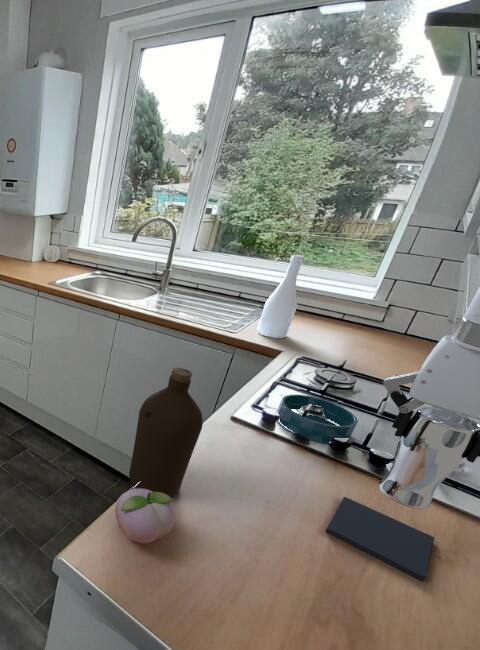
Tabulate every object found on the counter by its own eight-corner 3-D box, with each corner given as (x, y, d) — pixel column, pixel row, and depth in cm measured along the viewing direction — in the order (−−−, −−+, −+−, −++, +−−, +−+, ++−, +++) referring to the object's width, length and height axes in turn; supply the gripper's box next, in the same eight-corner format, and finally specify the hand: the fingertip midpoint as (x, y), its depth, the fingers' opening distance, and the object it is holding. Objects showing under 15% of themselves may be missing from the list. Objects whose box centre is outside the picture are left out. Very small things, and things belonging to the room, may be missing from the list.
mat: (431, 541, 69) (434, 537, 69) (422, 581, 63) (425, 577, 62) (342, 500, 78) (344, 496, 78) (325, 531, 71) (327, 527, 71)
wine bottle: (250, 330, 160) (275, 253, 147) (269, 328, 162) (295, 252, 149) (272, 339, 151) (301, 258, 139) (292, 337, 154) (321, 257, 141)
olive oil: (170, 510, 75) (204, 392, 65) (116, 481, 82) (139, 370, 71) (190, 482, 82) (224, 371, 71) (139, 457, 89) (163, 353, 78)
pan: (355, 430, 99) (363, 412, 97) (340, 453, 91) (349, 435, 89) (285, 405, 109) (292, 388, 107) (266, 424, 101) (273, 406, 99)
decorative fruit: (140, 511, 75) (150, 468, 71) (176, 546, 68) (190, 501, 64) (98, 526, 71) (107, 482, 67) (132, 565, 65) (144, 518, 60)
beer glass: (362, 479, 70) (402, 404, 63) (404, 481, 69) (449, 406, 63) (400, 510, 63) (449, 430, 57) (446, 512, 63) (500, 432, 57)
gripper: (605, 352, 51) (522, 465, 58) (411, 315, 63) (363, 412, 70) (613, 368, 47) (523, 488, 54) (403, 325, 59) (353, 427, 66)
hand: (433, 444), depth 62 cm, fingers closed on beer glass, 7 cm apart
